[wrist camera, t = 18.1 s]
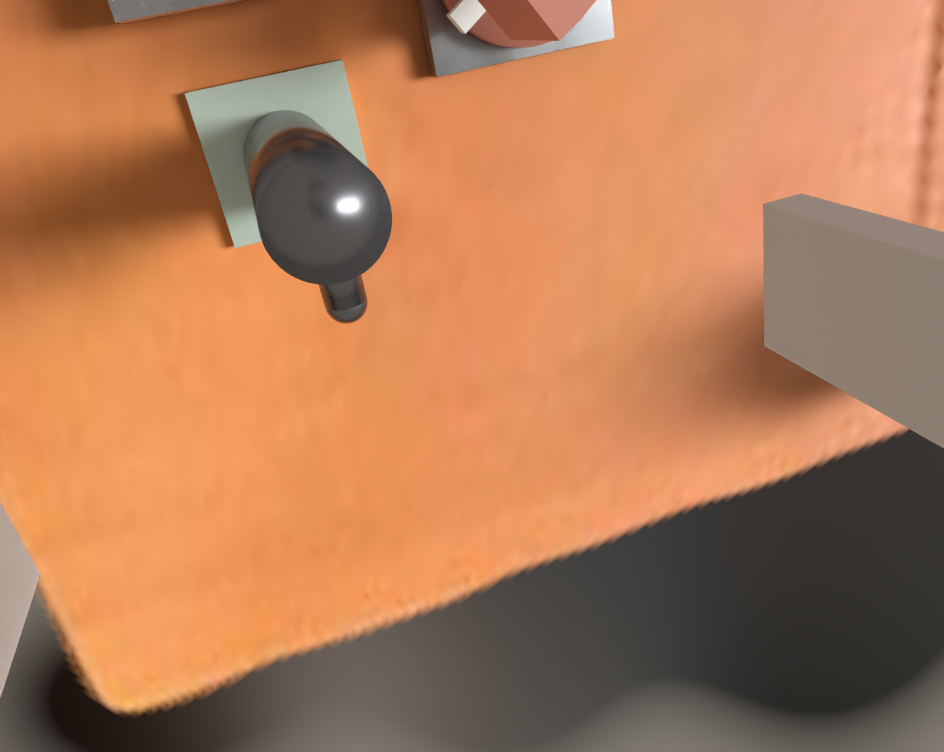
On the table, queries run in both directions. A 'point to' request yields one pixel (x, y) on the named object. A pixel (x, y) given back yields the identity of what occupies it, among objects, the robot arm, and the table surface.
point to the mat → (242, 104)
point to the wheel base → (470, 52)
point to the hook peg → (316, 208)
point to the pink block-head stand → (517, 19)
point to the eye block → (157, 8)
